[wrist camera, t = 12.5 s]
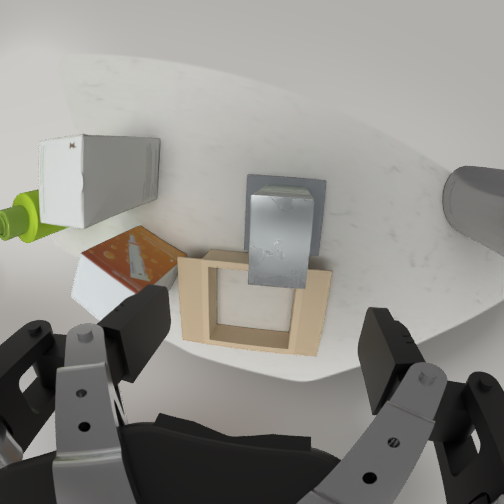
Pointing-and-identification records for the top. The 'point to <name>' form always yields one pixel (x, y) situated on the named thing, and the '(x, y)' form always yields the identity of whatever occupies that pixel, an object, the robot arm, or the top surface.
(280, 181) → the mat
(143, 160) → the skincare box
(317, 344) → the wooden rectangular frame
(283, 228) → the tea tin
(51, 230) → the soap dispenser
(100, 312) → the small box
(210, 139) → the top surface
